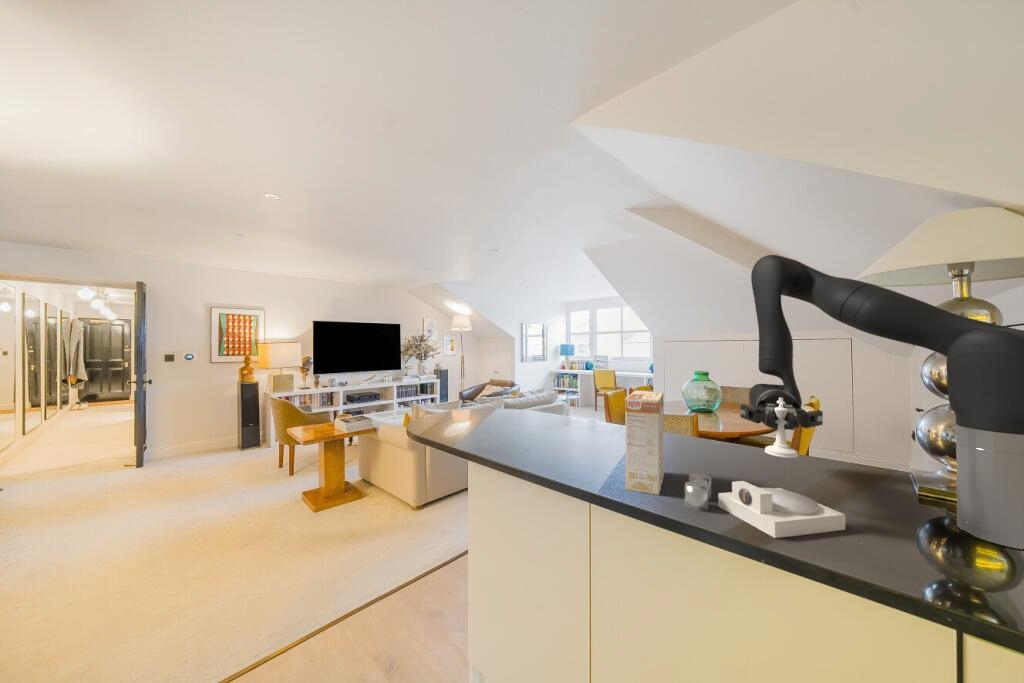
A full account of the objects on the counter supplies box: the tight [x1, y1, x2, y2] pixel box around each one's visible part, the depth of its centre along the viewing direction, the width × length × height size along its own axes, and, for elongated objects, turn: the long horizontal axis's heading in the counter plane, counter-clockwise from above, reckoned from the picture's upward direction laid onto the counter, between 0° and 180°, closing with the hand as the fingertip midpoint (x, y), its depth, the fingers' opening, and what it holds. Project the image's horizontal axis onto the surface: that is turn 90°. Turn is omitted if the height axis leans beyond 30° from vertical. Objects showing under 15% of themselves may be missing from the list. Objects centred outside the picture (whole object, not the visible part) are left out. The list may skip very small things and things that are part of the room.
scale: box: [717, 480, 846, 539], centre depth 67 cm, size 14×12×6 cm
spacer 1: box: [688, 472, 712, 501], centre depth 76 cm, size 4×4×4 cm
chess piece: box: [764, 398, 799, 459], centre depth 67 cm, size 5×5×10 cm
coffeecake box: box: [624, 390, 665, 496], centre depth 85 cm, size 15×7×20 cm, turn 154°
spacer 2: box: [684, 481, 709, 512], centre depth 71 cm, size 4×4×4 cm
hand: (782, 422), depth 65 cm, fingers closed on chess piece
